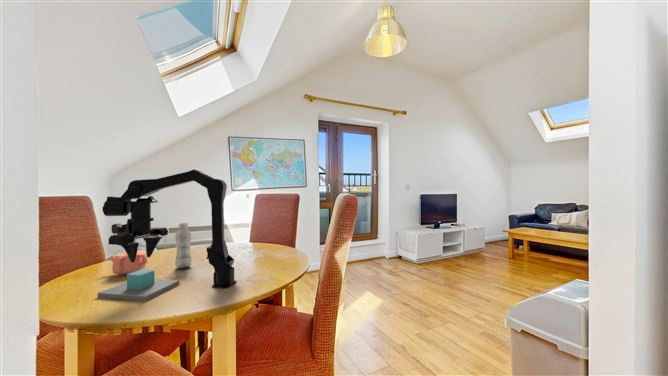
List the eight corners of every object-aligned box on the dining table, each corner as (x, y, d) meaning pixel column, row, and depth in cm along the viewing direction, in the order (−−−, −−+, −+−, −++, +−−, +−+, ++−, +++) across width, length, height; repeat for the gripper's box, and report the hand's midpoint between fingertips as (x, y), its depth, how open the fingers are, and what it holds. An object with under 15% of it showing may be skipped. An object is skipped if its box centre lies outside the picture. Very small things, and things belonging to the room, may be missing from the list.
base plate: (179, 284, 100) (179, 280, 100) (144, 301, 85) (144, 296, 85) (137, 281, 103) (137, 277, 103) (97, 297, 88) (97, 293, 88)
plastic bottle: (184, 270, 116) (184, 225, 116) (171, 269, 118) (171, 224, 118) (195, 266, 123) (195, 223, 123) (182, 265, 124) (182, 222, 124)
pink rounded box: (109, 273, 112) (108, 250, 112) (143, 267, 121) (143, 246, 121) (111, 280, 104) (111, 255, 104) (148, 273, 113) (148, 250, 112)
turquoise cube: (154, 283, 96) (154, 270, 96) (140, 289, 91) (140, 275, 91) (141, 283, 97) (141, 269, 97) (126, 288, 92) (126, 274, 92)
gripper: (143, 212, 104) (143, 252, 104) (94, 218, 86) (94, 266, 86) (169, 213, 102) (168, 253, 103) (123, 219, 84) (123, 268, 84)
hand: (140, 259), depth 94 cm, fingers open, 6 cm apart
